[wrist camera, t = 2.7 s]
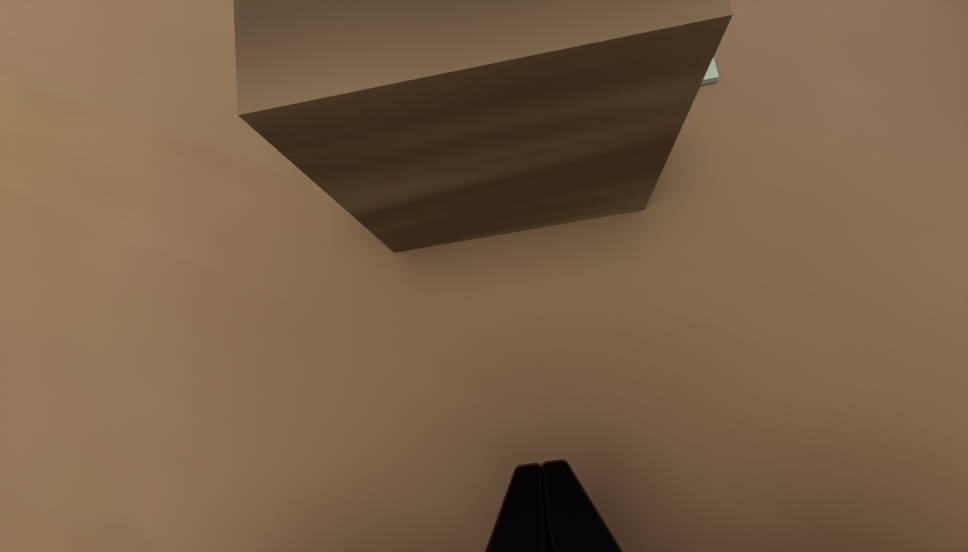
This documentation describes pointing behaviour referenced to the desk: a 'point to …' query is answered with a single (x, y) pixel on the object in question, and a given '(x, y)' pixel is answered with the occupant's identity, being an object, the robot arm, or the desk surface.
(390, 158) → the walnut plaque
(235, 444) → the desk surface
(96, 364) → the desk surface
